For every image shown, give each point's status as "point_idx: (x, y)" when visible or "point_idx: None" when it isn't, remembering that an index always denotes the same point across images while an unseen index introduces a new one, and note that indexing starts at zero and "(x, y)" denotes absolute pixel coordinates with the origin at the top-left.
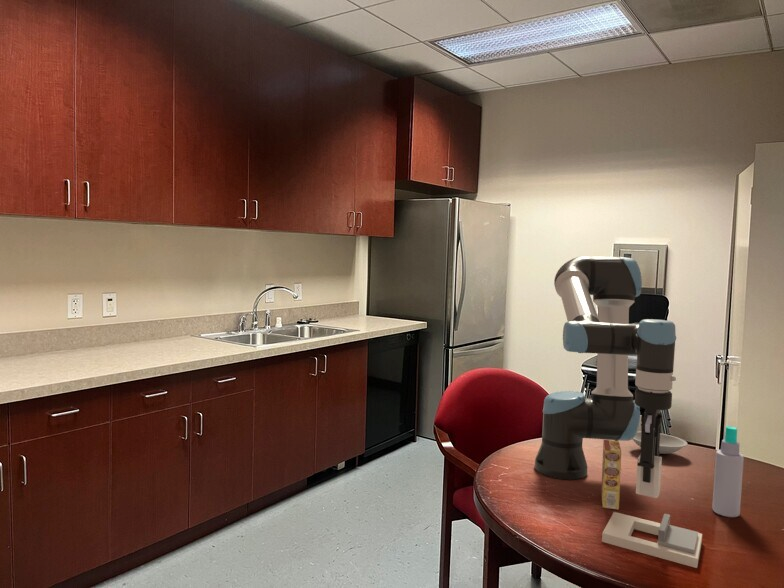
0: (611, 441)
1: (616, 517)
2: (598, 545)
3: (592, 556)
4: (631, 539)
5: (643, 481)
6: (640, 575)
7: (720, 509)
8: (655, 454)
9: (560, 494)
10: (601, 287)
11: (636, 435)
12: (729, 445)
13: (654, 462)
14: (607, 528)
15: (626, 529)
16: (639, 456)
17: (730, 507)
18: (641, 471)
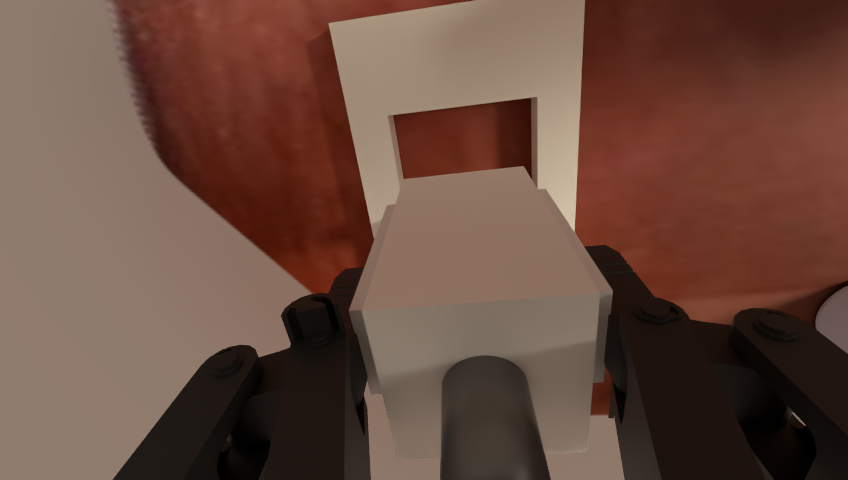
0: None
1: (524, 18)
2: (301, 24)
3: (210, 38)
4: (364, 136)
5: (346, 273)
6: (236, 198)
7: (840, 312)
8: (618, 415)
9: None
10: None
11: None
12: None
13: (391, 427)
14: (387, 25)
15: (433, 95)
16: (454, 308)
17: (842, 347)
18: (362, 285)
